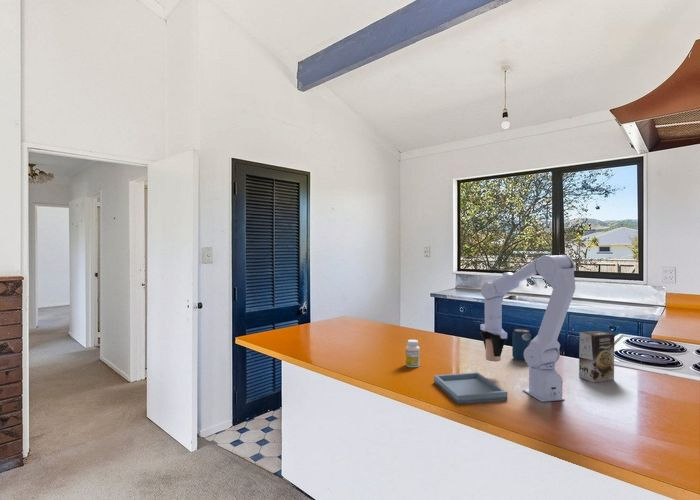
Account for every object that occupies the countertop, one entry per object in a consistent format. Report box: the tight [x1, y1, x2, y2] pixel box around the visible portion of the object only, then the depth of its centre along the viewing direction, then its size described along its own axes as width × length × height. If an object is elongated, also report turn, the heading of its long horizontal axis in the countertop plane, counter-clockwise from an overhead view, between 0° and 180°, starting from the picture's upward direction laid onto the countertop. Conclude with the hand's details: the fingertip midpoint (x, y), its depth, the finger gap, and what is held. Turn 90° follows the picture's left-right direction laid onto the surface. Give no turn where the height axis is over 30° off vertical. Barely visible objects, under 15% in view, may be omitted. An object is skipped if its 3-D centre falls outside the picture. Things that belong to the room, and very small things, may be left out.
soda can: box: [511, 328, 532, 363], centre depth 157 cm, size 7×7×12 cm
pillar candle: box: [485, 338, 502, 363], centre depth 138 cm, size 5×5×7 cm
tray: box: [433, 371, 508, 405], centre depth 124 cm, size 18×16×2 cm
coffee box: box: [578, 330, 615, 384], centre depth 135 cm, size 9×6×16 cm
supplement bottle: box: [405, 339, 421, 368], centre depth 150 cm, size 5×5×10 cm
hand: (493, 354), depth 138 cm, fingers closed on pillar candle, 5 cm apart
